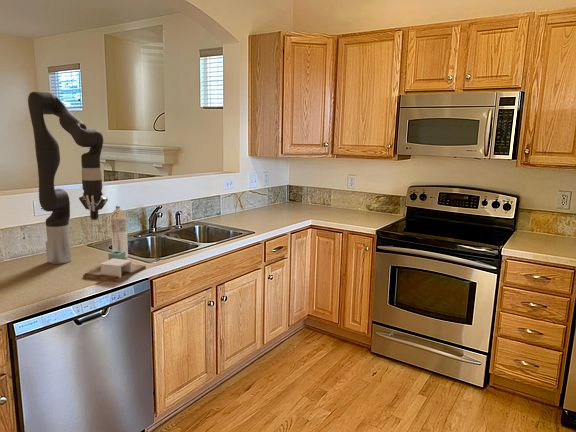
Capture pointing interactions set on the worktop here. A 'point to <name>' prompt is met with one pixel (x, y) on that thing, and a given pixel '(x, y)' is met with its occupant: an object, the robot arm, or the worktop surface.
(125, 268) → the white rectangular block
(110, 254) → the sleeve
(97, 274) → the board
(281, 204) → the worktop surface
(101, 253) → the worktop surface
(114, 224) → the water bottle
